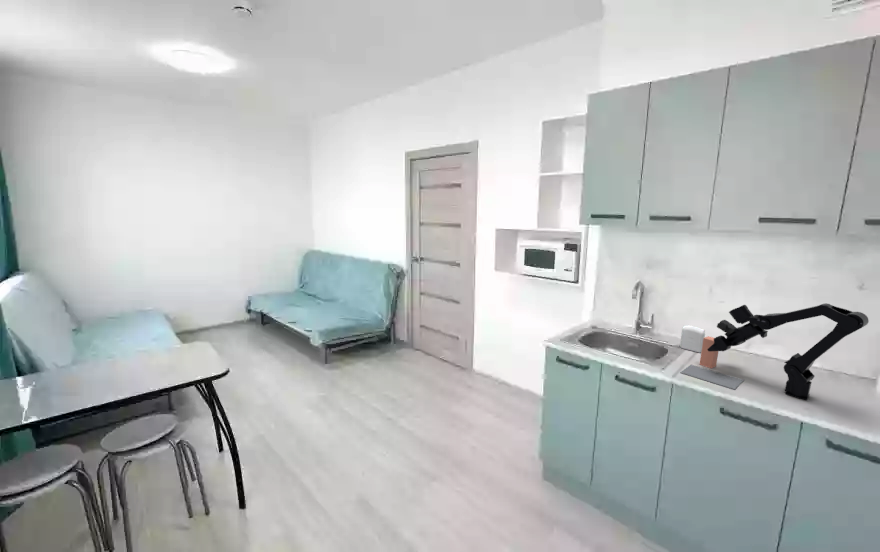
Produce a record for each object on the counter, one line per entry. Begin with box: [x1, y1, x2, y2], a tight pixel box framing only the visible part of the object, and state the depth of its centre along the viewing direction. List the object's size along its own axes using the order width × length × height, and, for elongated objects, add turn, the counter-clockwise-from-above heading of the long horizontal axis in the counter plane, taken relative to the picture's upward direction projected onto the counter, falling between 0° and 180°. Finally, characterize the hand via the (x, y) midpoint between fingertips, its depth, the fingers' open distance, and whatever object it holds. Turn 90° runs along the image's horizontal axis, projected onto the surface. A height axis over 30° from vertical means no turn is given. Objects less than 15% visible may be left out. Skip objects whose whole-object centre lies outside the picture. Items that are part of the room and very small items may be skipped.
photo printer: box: [679, 325, 706, 354], centre depth 201 cm, size 10×4×12 cm, turn 39°
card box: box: [699, 335, 720, 369], centre depth 182 cm, size 5×4×13 cm
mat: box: [680, 364, 745, 391], centre depth 171 cm, size 20×13×1 cm, turn 40°
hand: (713, 348), depth 181 cm, fingers open, 9 cm apart
